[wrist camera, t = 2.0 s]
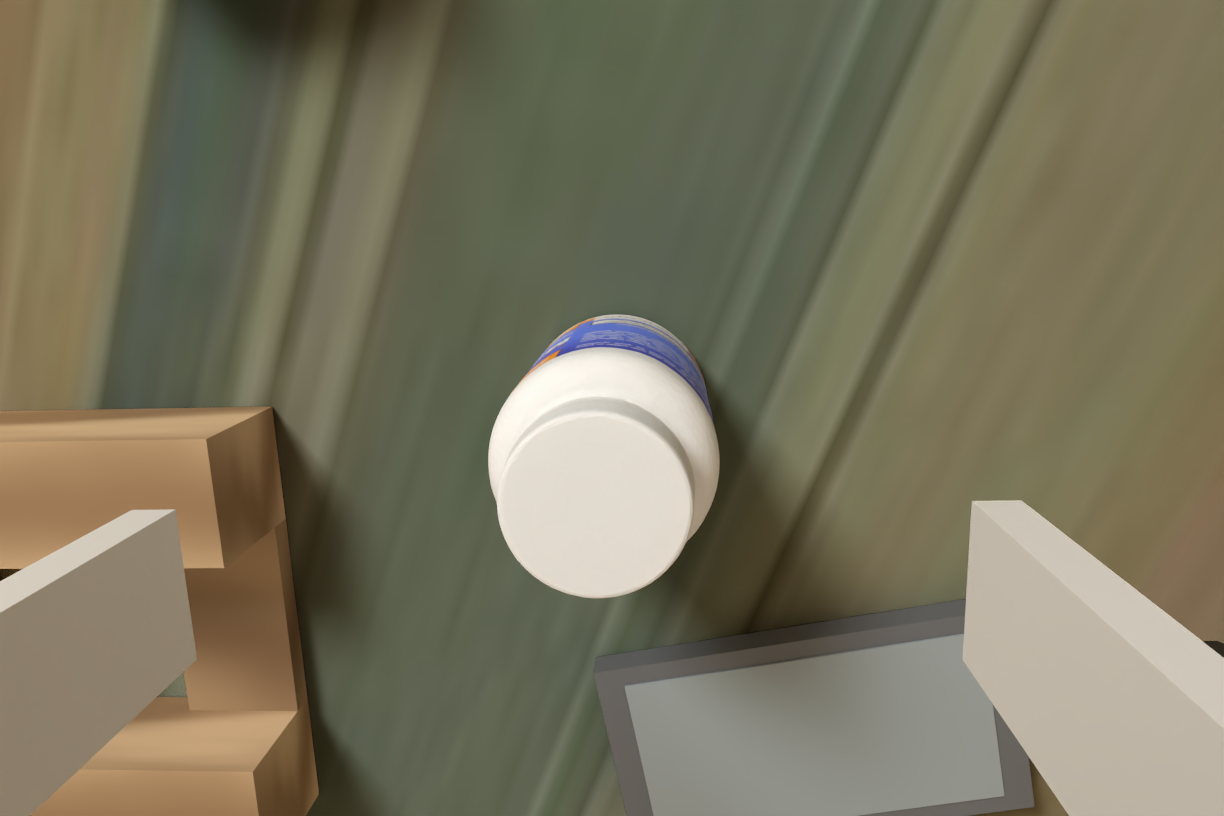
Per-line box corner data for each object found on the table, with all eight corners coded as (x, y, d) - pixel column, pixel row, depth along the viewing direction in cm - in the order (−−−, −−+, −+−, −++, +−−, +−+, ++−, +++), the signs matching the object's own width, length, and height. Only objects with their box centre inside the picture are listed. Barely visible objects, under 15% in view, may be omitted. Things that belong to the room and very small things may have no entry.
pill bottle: (550, 294, 26) (482, 342, 16) (726, 334, 26) (759, 406, 16) (516, 463, 27) (435, 597, 18) (683, 501, 27) (691, 657, 18)
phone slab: (595, 657, 28) (593, 674, 27) (998, 594, 27) (1011, 609, 26) (637, 838, 30) (636, 860, 29) (1021, 786, 29) (1035, 808, 27)
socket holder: (-142, 413, 28) (-272, 445, 24) (272, 406, 27) (206, 439, 23) (-56, 787, 31) (-158, 869, 27) (319, 793, 30) (267, 879, 26)
